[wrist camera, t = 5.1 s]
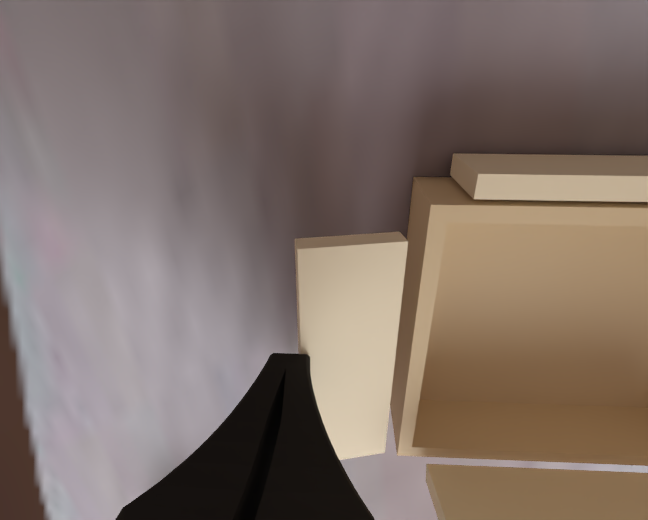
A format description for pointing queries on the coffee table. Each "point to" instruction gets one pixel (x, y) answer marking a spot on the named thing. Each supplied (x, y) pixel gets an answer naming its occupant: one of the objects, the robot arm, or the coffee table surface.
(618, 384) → the carton
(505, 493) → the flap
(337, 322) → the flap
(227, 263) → the coffee table surface
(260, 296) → the coffee table surface
